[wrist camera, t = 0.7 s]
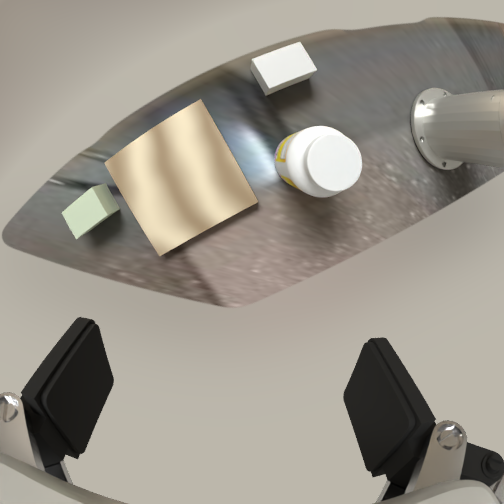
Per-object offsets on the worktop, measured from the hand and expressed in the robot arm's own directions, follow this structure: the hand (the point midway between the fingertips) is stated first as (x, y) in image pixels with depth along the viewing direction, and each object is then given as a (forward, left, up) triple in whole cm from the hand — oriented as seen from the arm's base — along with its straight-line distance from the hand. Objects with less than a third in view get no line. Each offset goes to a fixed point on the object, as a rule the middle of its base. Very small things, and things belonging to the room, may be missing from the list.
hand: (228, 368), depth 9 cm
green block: (+16, -10, -27) cm, 33 cm away
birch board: (+4, -7, -27) cm, 28 cm away
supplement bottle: (-10, -2, -27) cm, 29 cm away
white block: (-13, -13, -27) cm, 33 cm away
